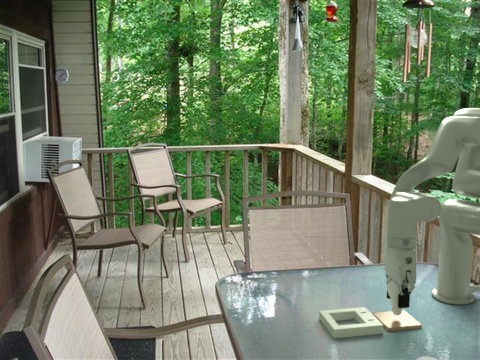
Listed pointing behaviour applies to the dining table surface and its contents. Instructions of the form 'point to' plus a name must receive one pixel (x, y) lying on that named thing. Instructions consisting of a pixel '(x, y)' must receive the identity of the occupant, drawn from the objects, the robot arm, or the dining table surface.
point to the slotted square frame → (361, 315)
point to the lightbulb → (394, 296)
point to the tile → (397, 321)
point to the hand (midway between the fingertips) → (397, 302)
